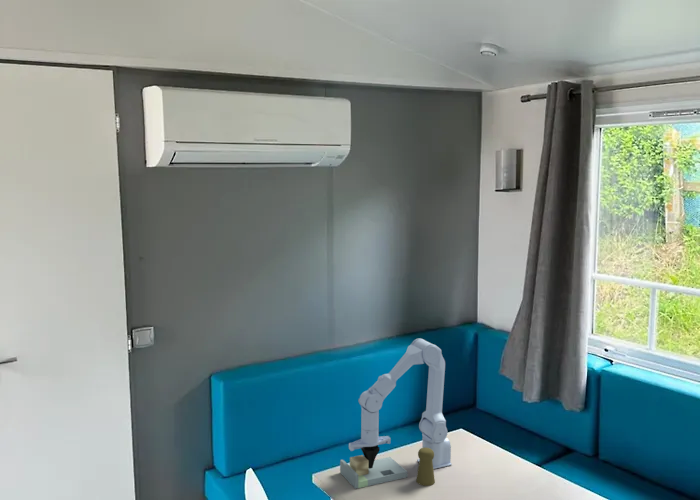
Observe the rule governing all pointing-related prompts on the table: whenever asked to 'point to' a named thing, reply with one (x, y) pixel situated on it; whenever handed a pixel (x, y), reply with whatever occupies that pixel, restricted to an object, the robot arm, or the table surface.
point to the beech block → (359, 465)
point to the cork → (425, 467)
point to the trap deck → (374, 473)
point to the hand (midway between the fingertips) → (369, 467)
